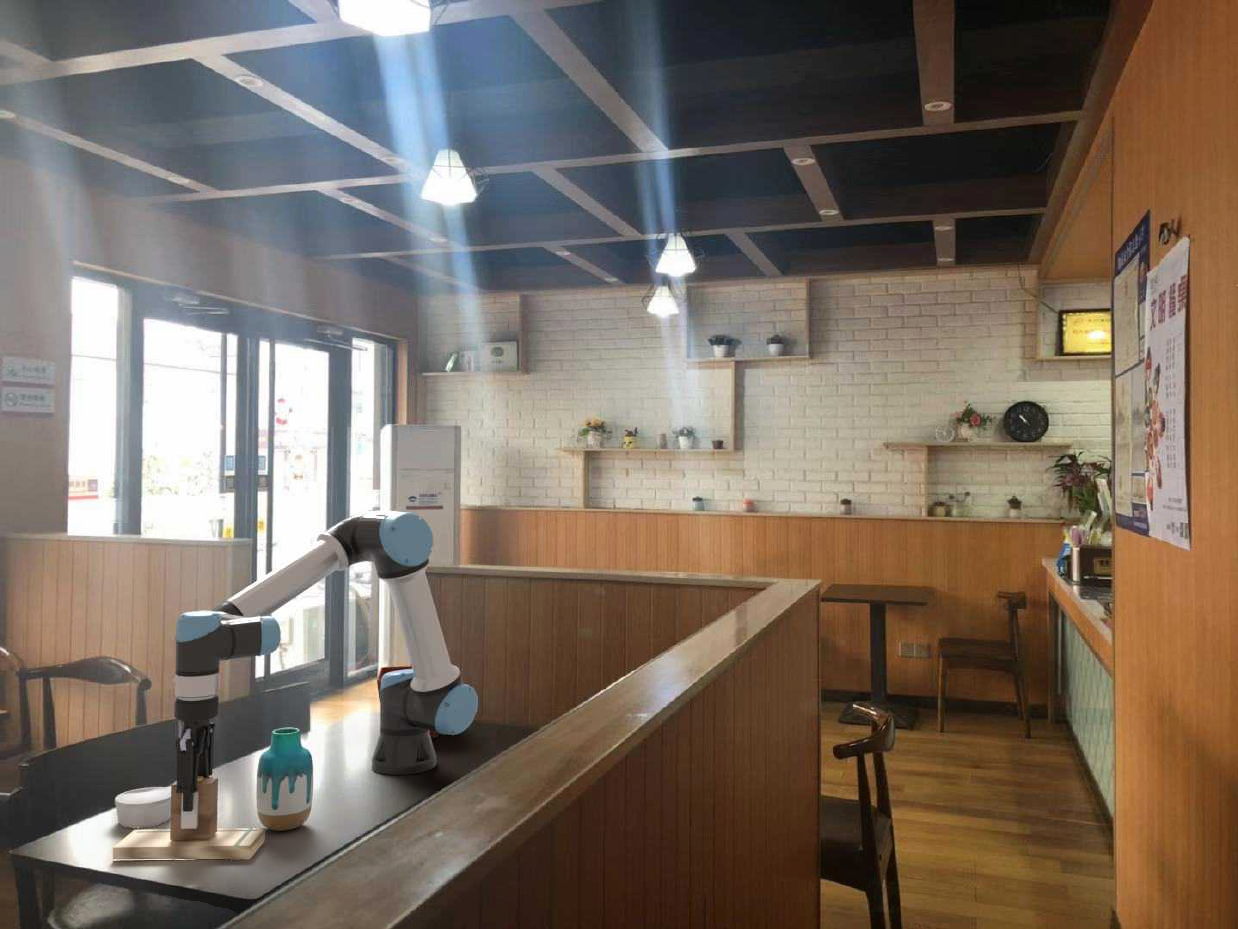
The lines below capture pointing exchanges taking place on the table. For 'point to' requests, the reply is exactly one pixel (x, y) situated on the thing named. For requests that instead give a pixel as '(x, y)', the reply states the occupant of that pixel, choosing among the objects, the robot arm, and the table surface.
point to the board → (190, 845)
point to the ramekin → (144, 807)
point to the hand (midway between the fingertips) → (194, 823)
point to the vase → (284, 782)
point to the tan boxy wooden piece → (205, 811)
